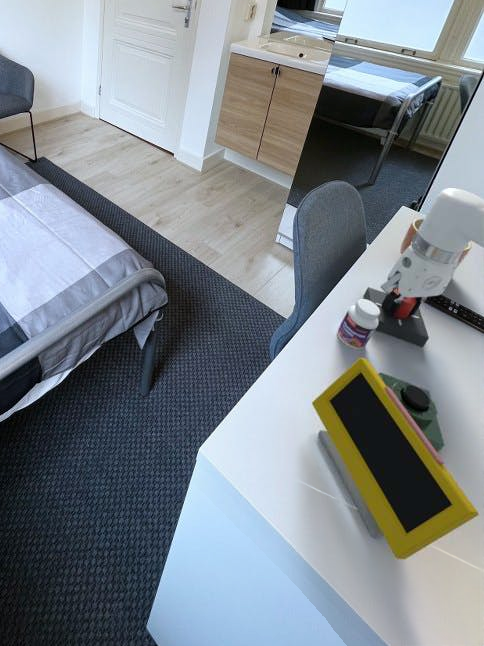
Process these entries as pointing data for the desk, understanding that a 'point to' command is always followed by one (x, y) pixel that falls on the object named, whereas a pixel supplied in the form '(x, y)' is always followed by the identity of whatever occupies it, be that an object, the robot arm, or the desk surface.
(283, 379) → the desk surface
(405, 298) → the dial
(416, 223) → the planter
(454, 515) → the yellow framed monitor
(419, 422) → the vent housing
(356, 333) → the pill bottle
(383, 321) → the handle block
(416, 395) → the vent button
